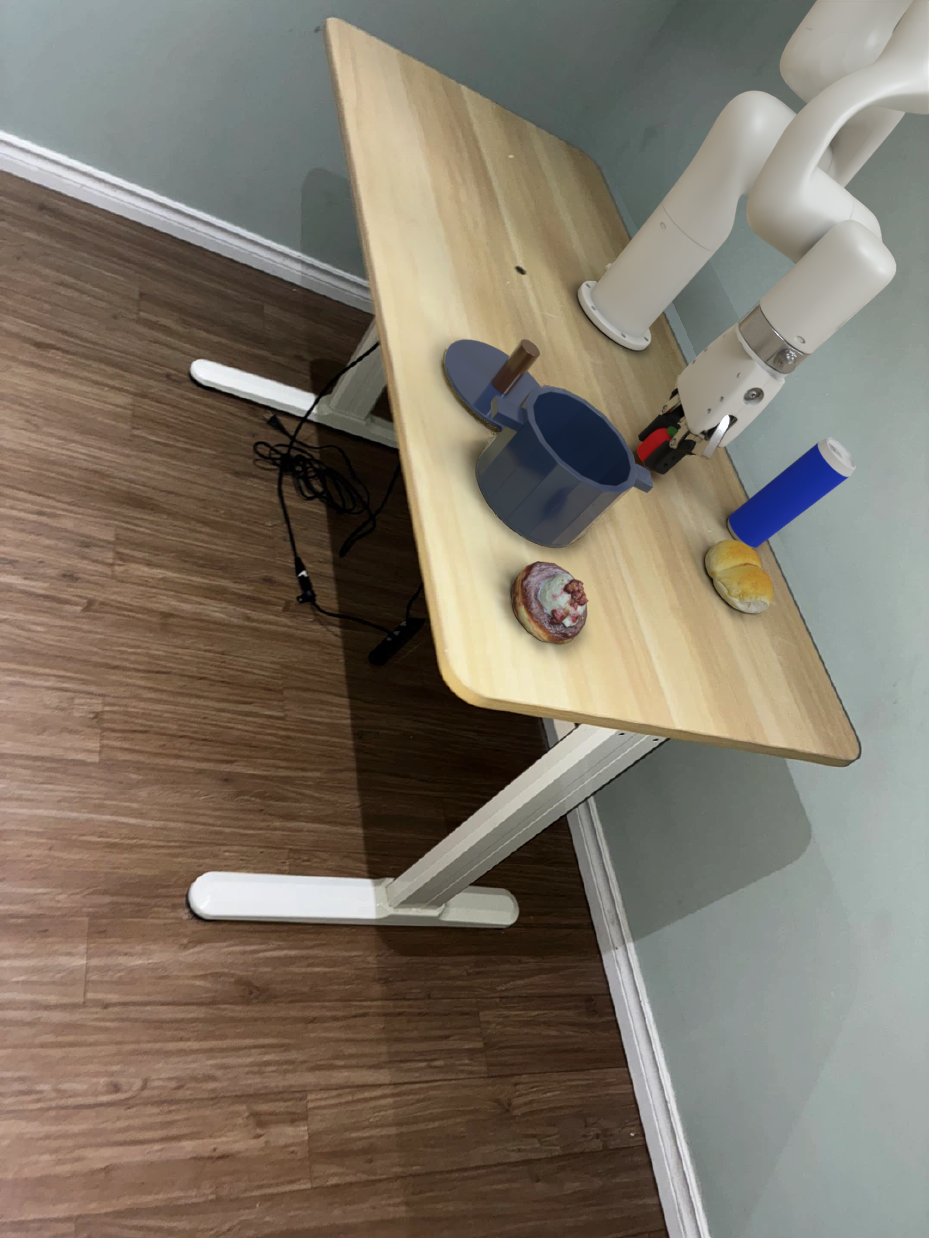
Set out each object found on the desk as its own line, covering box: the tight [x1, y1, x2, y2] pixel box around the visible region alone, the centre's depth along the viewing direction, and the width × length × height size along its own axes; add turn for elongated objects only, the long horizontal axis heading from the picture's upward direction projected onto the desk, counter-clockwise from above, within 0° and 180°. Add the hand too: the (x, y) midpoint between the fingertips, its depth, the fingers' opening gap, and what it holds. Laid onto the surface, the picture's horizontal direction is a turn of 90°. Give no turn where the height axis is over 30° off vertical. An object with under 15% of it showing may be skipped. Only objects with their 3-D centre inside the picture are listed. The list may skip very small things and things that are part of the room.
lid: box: [443, 338, 541, 431], centre depth 85 cm, size 14×14×7 cm
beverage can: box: [727, 437, 857, 549], centre depth 96 cm, size 5×5×15 cm
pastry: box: [511, 560, 589, 645], centre depth 70 cm, size 8×8×5 cm
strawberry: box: [636, 426, 679, 463], centre depth 95 cm, size 4×4×4 cm
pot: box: [475, 385, 654, 549], centre depth 77 cm, size 13×18×8 cm
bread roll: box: [704, 538, 774, 614], centre depth 91 cm, size 8×9×4 cm
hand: (651, 454), depth 96 cm, fingers closed on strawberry, 3 cm apart
